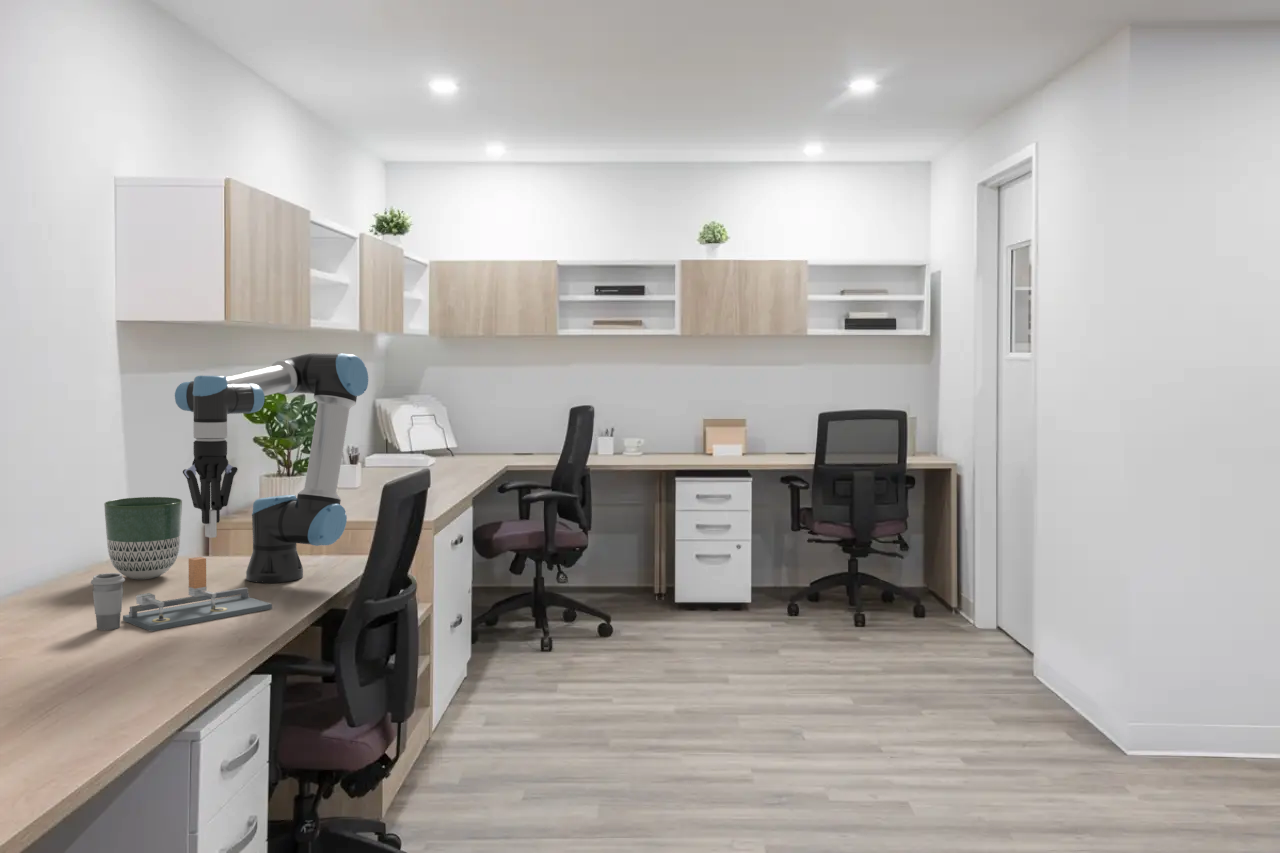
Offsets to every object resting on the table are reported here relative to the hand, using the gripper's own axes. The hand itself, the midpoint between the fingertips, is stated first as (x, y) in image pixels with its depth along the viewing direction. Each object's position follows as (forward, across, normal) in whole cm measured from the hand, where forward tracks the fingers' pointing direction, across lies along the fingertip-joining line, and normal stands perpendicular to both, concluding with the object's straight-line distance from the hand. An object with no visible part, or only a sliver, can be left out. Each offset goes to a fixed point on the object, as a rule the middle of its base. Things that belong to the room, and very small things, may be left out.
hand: (210, 536), depth 252 cm
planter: (+19, -7, -50) cm, 54 cm away
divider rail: (+17, +3, -1) cm, 18 cm away
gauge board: (+19, +3, 0) cm, 19 cm away
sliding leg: (+17, +1, -1) cm, 17 cm away
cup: (+19, +23, -3) cm, 30 cm away
